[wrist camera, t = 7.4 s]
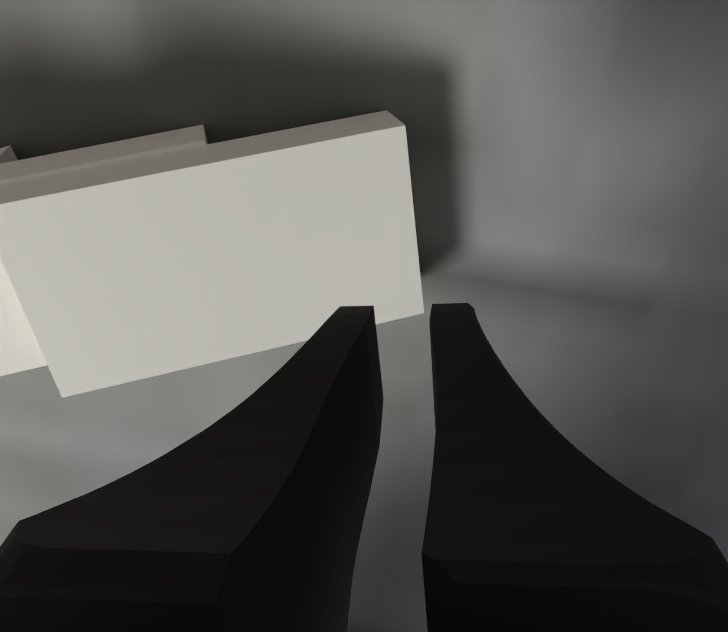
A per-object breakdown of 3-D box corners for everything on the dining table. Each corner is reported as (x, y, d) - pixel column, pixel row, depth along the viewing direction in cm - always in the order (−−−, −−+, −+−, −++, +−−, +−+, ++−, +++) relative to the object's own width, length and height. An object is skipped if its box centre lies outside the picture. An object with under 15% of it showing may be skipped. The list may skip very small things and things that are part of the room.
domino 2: (405, 125, 15) (-23, 208, 14) (424, 313, 17) (62, 397, 16) (386, 110, 16) (-4, 184, 15) (406, 285, 19) (71, 362, 17)
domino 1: (205, 140, 16) (-216, 222, 14) (250, 317, 18) (-107, 400, 17) (203, 124, 17) (-182, 198, 16) (246, 291, 19) (-85, 366, 18)
